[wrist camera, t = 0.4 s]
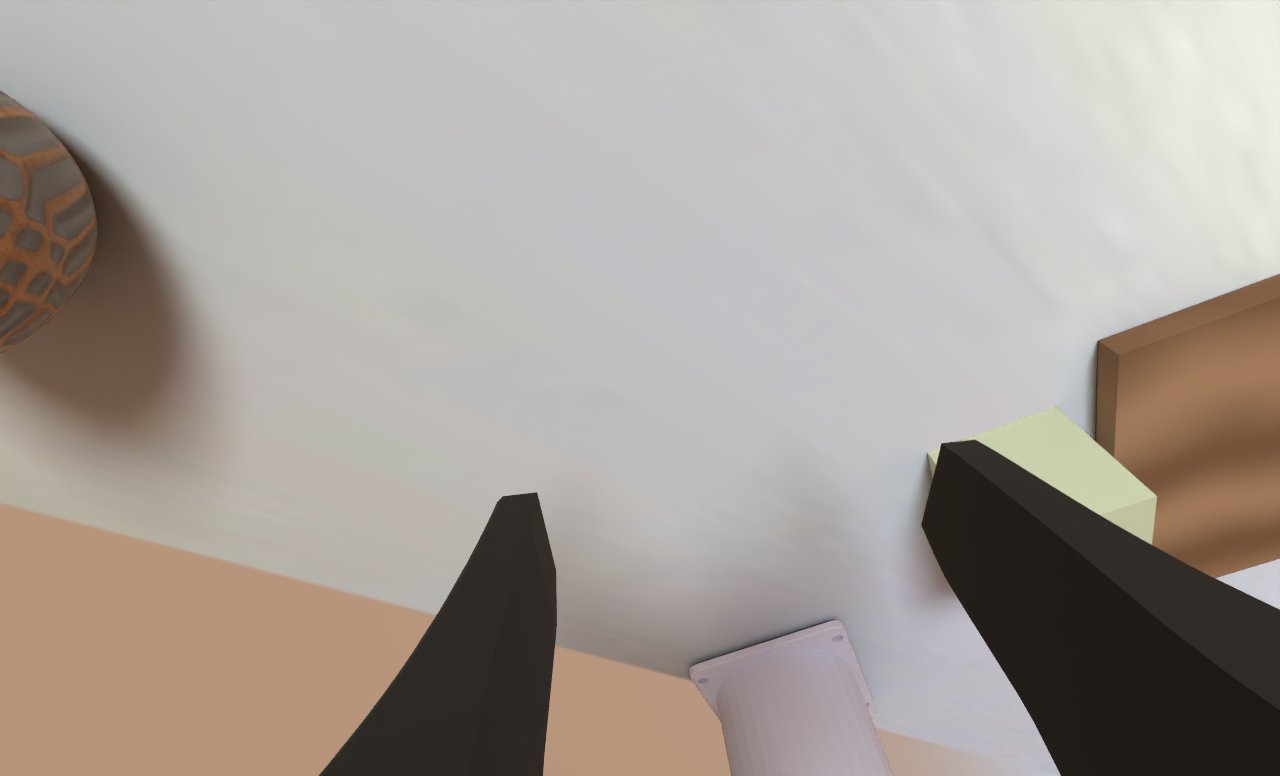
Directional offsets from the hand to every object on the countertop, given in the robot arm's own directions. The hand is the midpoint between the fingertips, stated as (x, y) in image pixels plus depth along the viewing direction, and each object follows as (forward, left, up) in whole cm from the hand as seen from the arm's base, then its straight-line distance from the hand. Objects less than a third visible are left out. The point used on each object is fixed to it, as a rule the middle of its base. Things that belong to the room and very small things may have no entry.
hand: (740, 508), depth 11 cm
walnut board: (-17, -19, -10) cm, 27 cm away
